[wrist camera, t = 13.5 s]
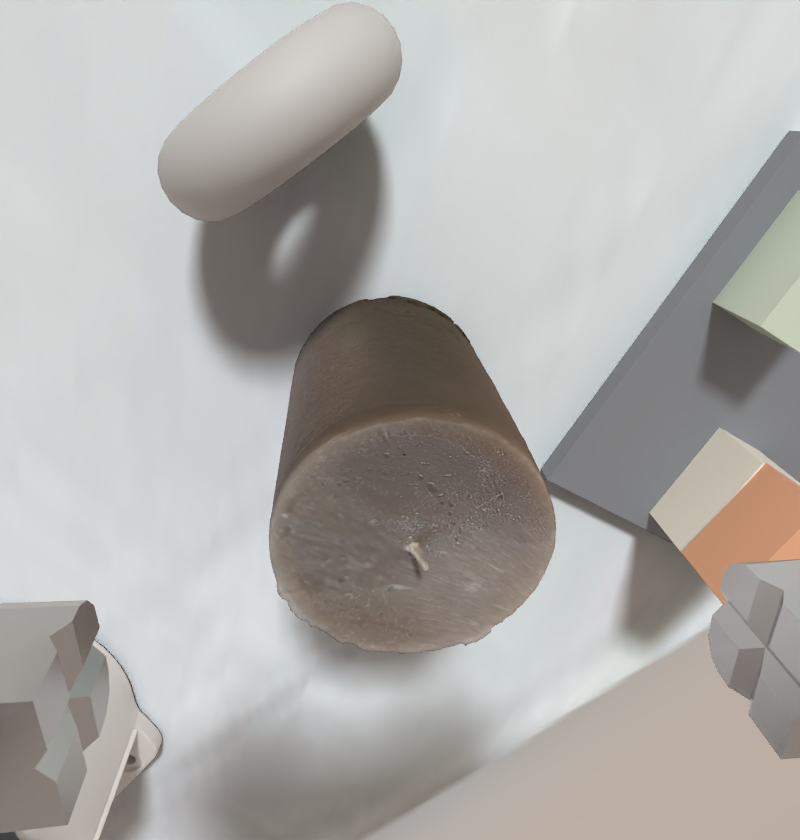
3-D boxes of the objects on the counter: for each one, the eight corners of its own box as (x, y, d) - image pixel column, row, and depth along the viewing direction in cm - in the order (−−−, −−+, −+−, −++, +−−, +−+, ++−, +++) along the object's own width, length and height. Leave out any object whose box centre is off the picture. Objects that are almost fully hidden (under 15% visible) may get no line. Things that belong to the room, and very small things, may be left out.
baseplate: (745, 573, 42) (756, 585, 41) (540, 469, 37) (547, 480, 36) (998, 297, 36) (1019, 303, 34) (789, 130, 31) (805, 131, 30)
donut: (223, 219, 30) (178, 265, 21) (169, 151, 29) (97, 170, 20) (406, 79, 29) (442, 66, 20) (359, 0, 27) (374, -53, 18)
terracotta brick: (722, 575, 35) (767, 629, 31) (681, 552, 34) (723, 605, 30) (806, 489, 33) (864, 536, 30) (766, 462, 32) (821, 507, 29)
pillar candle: (408, 254, 32) (459, 366, 18) (516, 403, 35) (625, 588, 22) (250, 373, 34) (191, 555, 20) (369, 503, 37) (386, 729, 24)
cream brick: (688, 532, 39) (725, 576, 35) (649, 512, 38) (683, 555, 34) (758, 450, 37) (805, 487, 33) (719, 427, 36) (763, 462, 32)
